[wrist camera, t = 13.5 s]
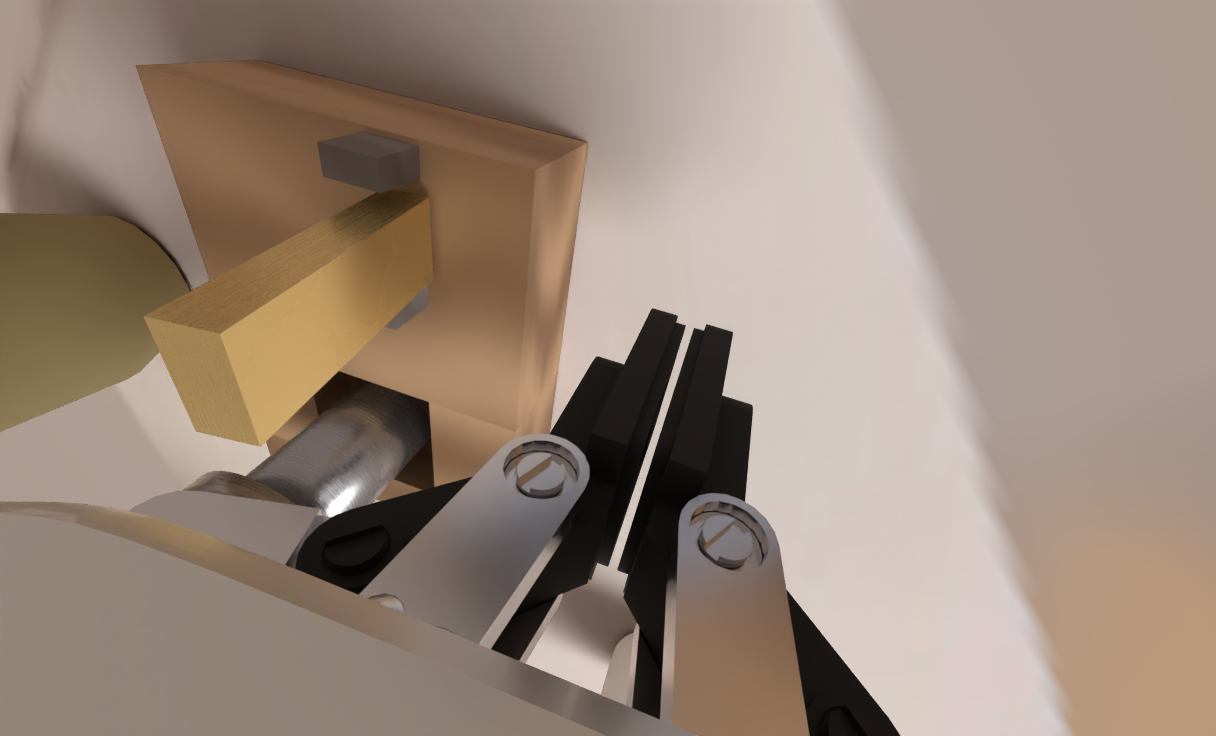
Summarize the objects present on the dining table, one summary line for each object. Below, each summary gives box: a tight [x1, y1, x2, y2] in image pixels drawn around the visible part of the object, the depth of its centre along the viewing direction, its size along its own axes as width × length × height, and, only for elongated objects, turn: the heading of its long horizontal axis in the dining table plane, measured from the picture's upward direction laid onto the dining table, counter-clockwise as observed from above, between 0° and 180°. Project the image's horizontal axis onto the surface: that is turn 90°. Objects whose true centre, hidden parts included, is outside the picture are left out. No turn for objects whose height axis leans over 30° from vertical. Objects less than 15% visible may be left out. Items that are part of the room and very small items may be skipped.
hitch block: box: [136, 60, 588, 501], centre depth 19 cm, size 16×12×6 cm
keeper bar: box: [143, 189, 433, 447], centre depth 11 cm, size 2×7×1 cm
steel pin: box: [183, 380, 431, 517], centre depth 19 cm, size 5×5×10 cm
